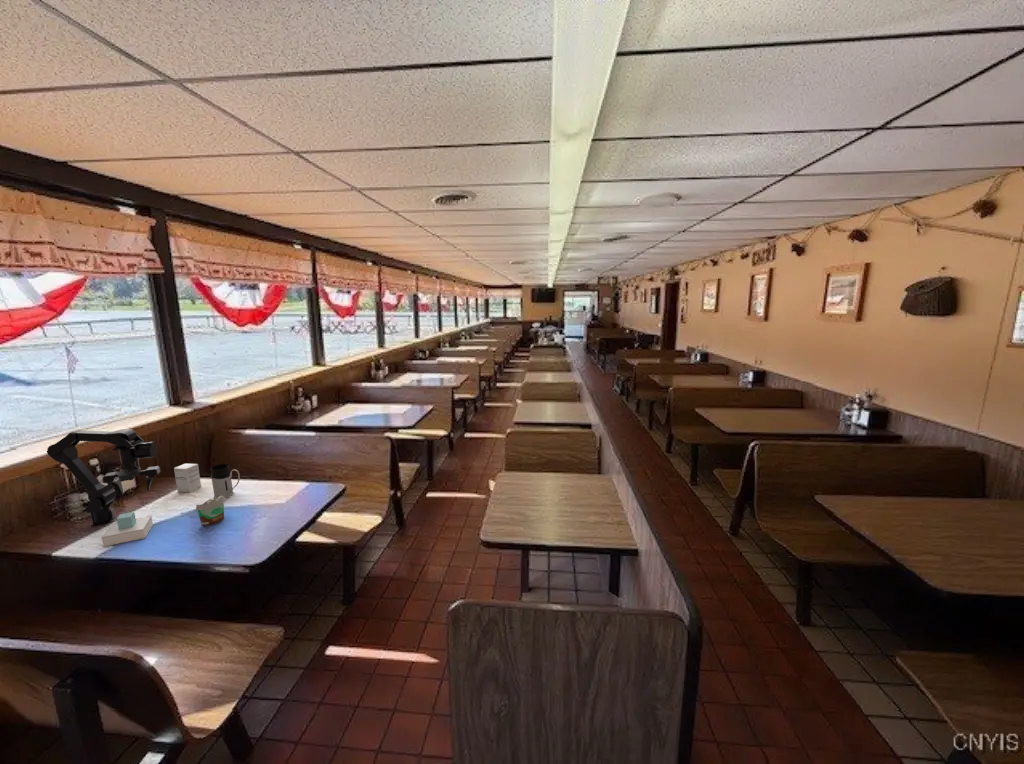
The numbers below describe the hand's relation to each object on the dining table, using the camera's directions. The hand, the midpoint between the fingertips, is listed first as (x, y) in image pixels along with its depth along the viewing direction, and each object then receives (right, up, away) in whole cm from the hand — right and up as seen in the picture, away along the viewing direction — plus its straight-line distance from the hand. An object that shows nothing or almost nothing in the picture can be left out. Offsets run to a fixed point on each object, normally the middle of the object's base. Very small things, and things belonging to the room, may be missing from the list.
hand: (135, 492), depth 199 cm
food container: (+37, -12, -2) cm, 39 cm away
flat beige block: (+8, -14, -12) cm, 20 cm away
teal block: (+8, -10, -13) cm, 18 cm away
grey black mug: (+27, -7, +23) cm, 36 cm away
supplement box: (+1, -6, +33) cm, 33 cm away
